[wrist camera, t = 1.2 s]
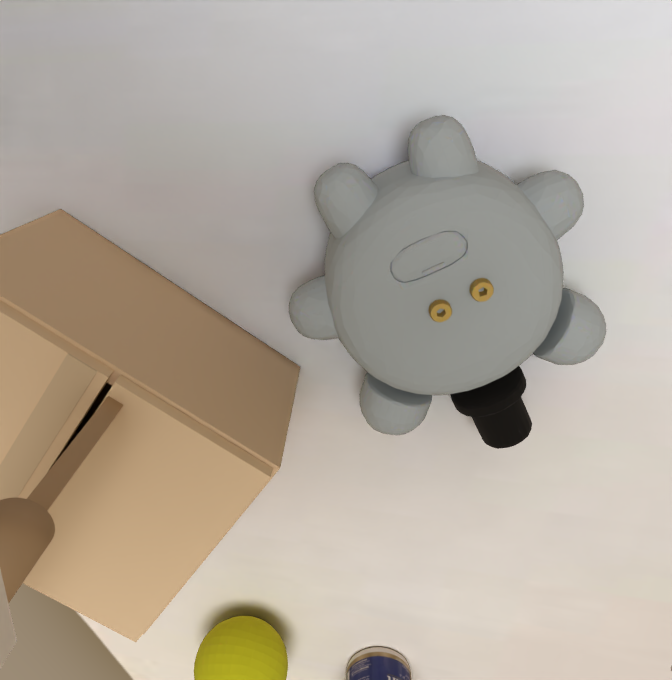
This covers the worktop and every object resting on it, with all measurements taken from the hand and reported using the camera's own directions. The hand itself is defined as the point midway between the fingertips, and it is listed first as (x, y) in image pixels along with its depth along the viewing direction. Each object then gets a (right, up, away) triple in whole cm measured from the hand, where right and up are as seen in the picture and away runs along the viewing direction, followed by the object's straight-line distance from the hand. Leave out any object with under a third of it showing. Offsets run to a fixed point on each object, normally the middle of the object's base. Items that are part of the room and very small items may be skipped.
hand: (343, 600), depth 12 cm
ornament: (-7, -19, +40) cm, 45 cm away
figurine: (+7, +9, +28) cm, 30 cm away
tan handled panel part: (-11, -4, +21) cm, 24 cm away
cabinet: (-14, +3, +31) cm, 34 cm away
